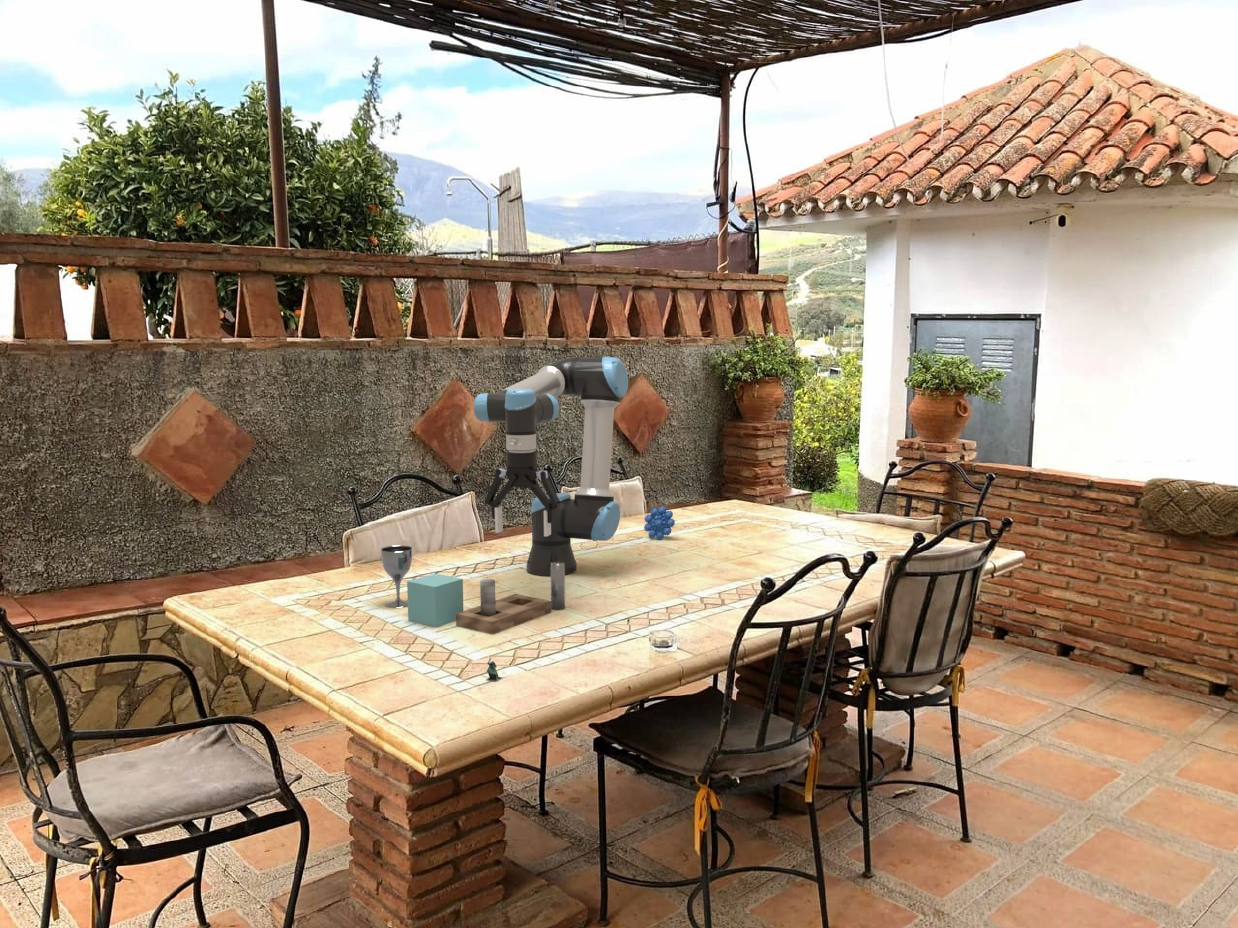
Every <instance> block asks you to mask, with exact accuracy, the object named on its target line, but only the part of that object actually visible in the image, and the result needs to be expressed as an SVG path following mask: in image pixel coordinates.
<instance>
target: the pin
mask: <svg viewBox="0 0 1238 928" xmlns="http://www.w3.org/2000/svg"><path fill="white" fill-rule="evenodd" d="M565 577H566V574H565V563H564V562H560V561H556V562H551V576H550V601H551V611H562V610H565V608H566V597H565V596H566V595H565V594H566V592H565V591H566V589H565V588H566V583H565V582H566V581H565V580H566V578H565Z"/></svg>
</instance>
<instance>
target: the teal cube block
mask: <svg viewBox="0 0 1238 928" xmlns="http://www.w3.org/2000/svg"><path fill="white" fill-rule="evenodd" d="M406 585H407V586H406V587H407V588H406V589H407V590H406V591H407V592H406V593H407V601H408V606H407V619H408V621H409V622H414V623H418V624H420V625H421V624H422V625H424V626H429V627H434V628H437V627H440V626H443V625H447V624H449V623H452V622H456V613H459V612H462V611H465V610H464V609H465V608H464V579H463V578H460V577H456V576H455V577H454V576H450V575H445V574H440V573H432V574H429V575H425V576H421V577H418V578H414V579H411V580H407V581H406Z"/></svg>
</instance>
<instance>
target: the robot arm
mask: <svg viewBox="0 0 1238 928" xmlns="http://www.w3.org/2000/svg"><path fill="white" fill-rule="evenodd" d="M627 371H628V370H627V368H626V366H625V363H624V362H623V361H622V360H621V359H620V358H618V357H613V356H612V357H611V356H571V357H566V358H563V359H560V360H557V361H554V362H552V363H549V364H546V365H545V366H542V367H541V368H540V369H538V371H537V373H536V374H534V375H531V376H530V377H527V378H525V379H523V380H520V381H518V382H516V383H514V384H512V385H509V386H508V387H506V388H504V389H503V388H502V390H499V391H497V392H495V393H491V392H487V393H479V394H478V395H477V396H476V397H475V398H474V402H473V414H474V416H475V418H476V419H477V420H479V421H480V422H488V423H505V437H506V438H505V445H506V447H505V449H506V450H507V452H506V453H505V454H506V469H504V468H503V467H500V468H496V469H495V471H494V472H495V473H494V478H493V482H492V483H491V486H490V488H489V490H488V492H487V495H486V497H485V499H484V502H483V503H484V504H485V505H489V506H490V507H491V519H492V520H494V531H495V534H499V533H501V532H503V531H504V529H503V527H504V525H503V523H504V522H503V506H502V505H501V503H502V502H503V500H504V499H505V498H506V496H508V494H509V493H510V492H511V491H512V489H513V488H516V489H520V488H522V489H529V490H530V491H531V492H533V494H534V495H535V496H536V497H535V498H533V500H532V501H531V511H530V513H531V548H530V552H529V555H528V559H527V562H526V572H527V573H529V574H531V575H538V576H542V577H543V576H545V577H546V576H548V577H549V576H550V577H551V562H556V561H560V562H564V563H565V575H569V574H573V573H575V572H576V571H577V570H578V569H577V567H578V566H577V560H576V559H575V555H574V552H573V551H574V550H573V548H572V542H571V541H572V539H575V540H587V541H588V540H589V541H594V542H598V541H601V542H602V541H604V542H605V541H609V540H611V538H613V537H614V535H615V534H616V532H617V530H618V527H619V524H620V520H621V510H620V509H621V507H620V505H619V503H618V502H616V501H614V499H615V494H613V493H612V492H611V490H610V482H611V467H612V466H611V465H612V448H613V435H614V434H613V433H614V419H615V418H614V416H615V409H616V408H617V407H618V406H619V405H620V404H621V403H620V402H621V398H624V397H625V396H626V395H627V392H628V390H629V376H628V372H627ZM559 396H573V397H574V396H575V397H580V402H581V404H582V406H584V421H583V423H584V425H583V426H584V427H583V436H582V438H583V439H582V456H581V469H580V470H581V471H580V473H581V474H580V487H579V488H578V490H577V491H576V492H574V499H573V498H572V496H571V494H570V493H568V492H560V493H557V492H556V491H555V488H554V486H553V483H552V481H551V479H550V475H549V474H550V473H549V470H547V469H546V470H542V471H538V469H537V462H538V461H537V452H536V451H535V450H536V449H537V428H536V427H537V425H541V424H548V423H550V422H553V421H554V420H555V419H557V417H558V416H559V414H560V404H559V401H558V399H557V397H559ZM505 477H507V479H508V481H507V482H506V483H505V484H504V487H503V488H502V489H501V491H500V492H499V493H498V491H499V488H500V486H501V484H502V482H503V479H504V478H505ZM537 478H538V479H539V480H540V482H541V484H542V487H543V489H544V490H543V489H542V487H541V486H540V484H539V483H538V481H537ZM497 493H498V494H497Z"/></svg>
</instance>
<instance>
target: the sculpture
mask: <svg viewBox="0 0 1238 928" xmlns="http://www.w3.org/2000/svg"><path fill="white" fill-rule="evenodd" d="M487 665H488V668H487V674H488V678H487V679H486V681H488V682H493V683H497V682H499V681H501V680H503V679H504V677H501V676H499V674H498V671H497V669H496V668H497V665H496V662H494V661H493V660H492V661H490V662H487Z"/></svg>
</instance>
